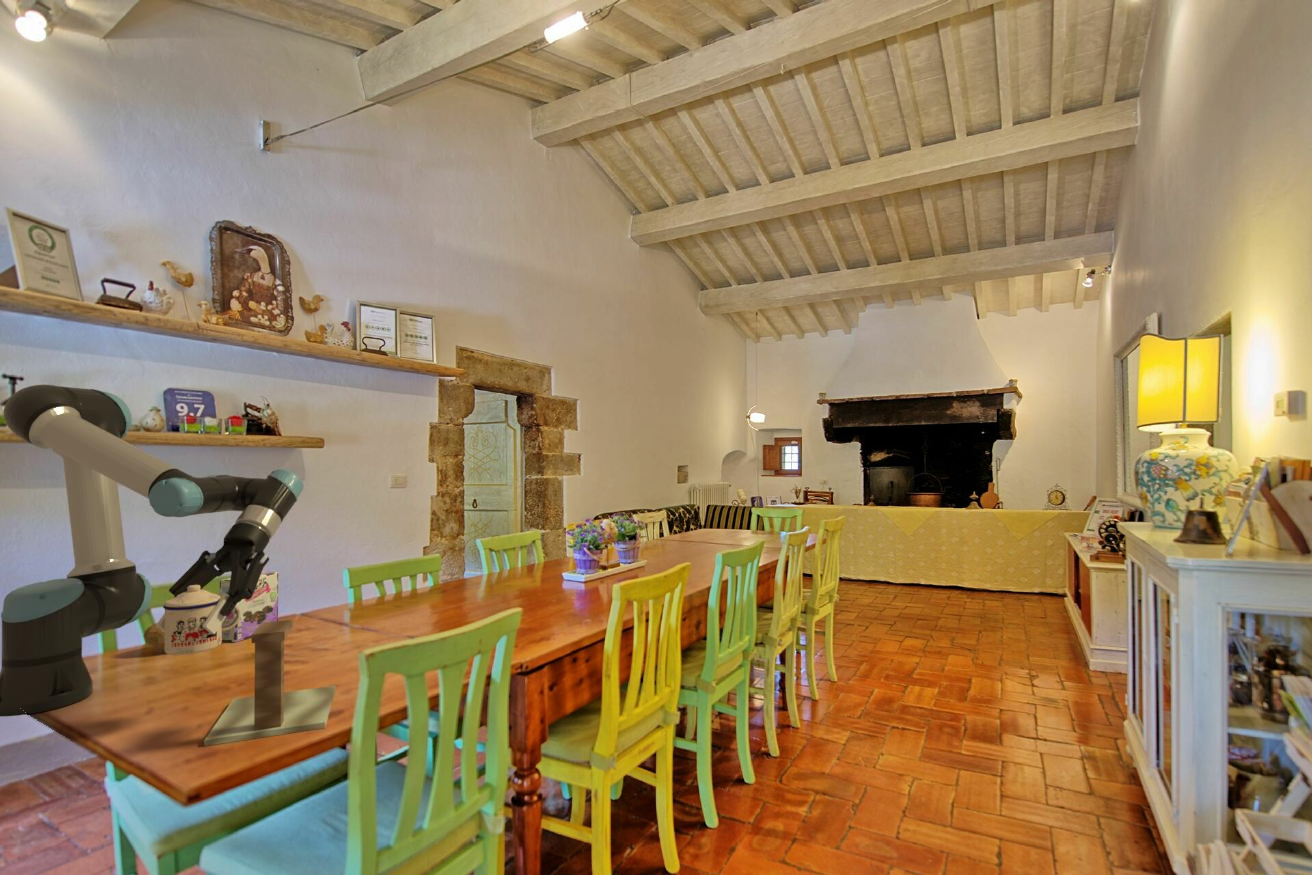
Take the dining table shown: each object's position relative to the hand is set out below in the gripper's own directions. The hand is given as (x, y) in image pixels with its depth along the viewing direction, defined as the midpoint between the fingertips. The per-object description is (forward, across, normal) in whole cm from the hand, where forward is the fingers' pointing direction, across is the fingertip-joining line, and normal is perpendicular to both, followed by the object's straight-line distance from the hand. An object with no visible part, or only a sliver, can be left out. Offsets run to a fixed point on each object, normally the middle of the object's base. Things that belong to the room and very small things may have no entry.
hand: (185, 629), depth 117 cm
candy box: (-26, +34, -50) cm, 66 cm away
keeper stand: (+9, -15, -15) cm, 23 cm away
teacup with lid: (+1, -1, -5) cm, 5 cm away
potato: (-16, +42, -40) cm, 60 cm away
